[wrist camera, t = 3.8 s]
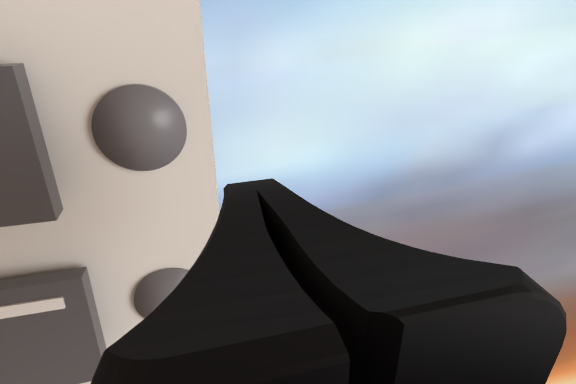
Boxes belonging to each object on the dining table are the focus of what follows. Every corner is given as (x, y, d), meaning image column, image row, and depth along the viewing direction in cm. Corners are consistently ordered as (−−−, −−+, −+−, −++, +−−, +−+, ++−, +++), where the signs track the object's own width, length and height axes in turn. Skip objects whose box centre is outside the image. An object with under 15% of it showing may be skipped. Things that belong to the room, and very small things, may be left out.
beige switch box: (226, 317, 24) (233, 361, 21) (20, 354, 21) (-3, 410, 18) (192, -29, 15) (197, -30, 12) (-160, -31, 13) (-251, -33, 10)
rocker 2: (111, 354, 18) (105, 380, 17) (15, 372, 17) (0, 401, 16) (89, 259, 17) (81, 279, 15) (-20, 275, 16) (-39, 297, 14)
